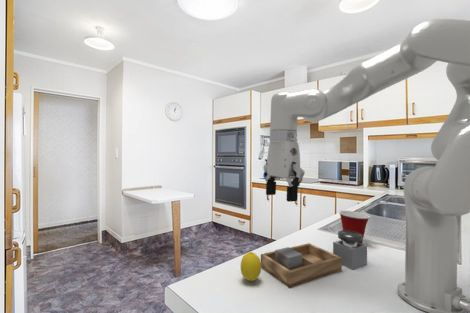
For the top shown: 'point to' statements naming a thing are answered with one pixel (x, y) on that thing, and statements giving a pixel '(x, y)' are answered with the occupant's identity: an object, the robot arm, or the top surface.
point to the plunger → (350, 238)
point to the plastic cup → (354, 221)
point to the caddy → (300, 264)
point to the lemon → (250, 266)
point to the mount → (351, 254)
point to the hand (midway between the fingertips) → (280, 197)
